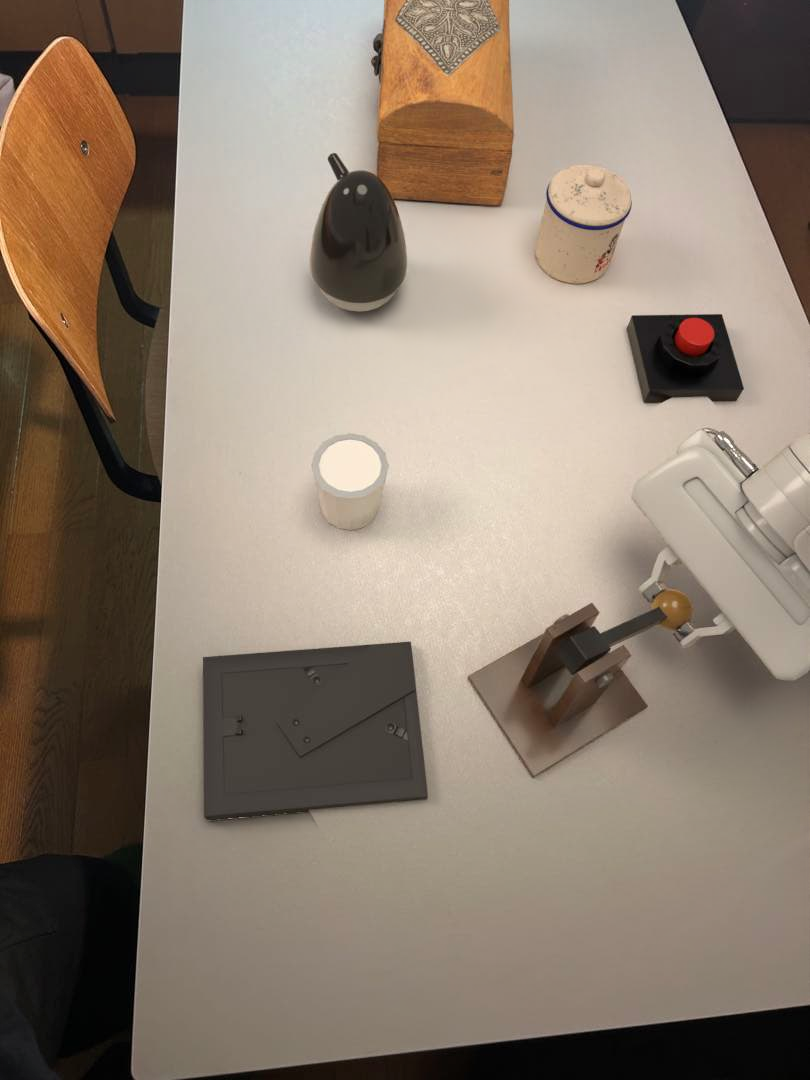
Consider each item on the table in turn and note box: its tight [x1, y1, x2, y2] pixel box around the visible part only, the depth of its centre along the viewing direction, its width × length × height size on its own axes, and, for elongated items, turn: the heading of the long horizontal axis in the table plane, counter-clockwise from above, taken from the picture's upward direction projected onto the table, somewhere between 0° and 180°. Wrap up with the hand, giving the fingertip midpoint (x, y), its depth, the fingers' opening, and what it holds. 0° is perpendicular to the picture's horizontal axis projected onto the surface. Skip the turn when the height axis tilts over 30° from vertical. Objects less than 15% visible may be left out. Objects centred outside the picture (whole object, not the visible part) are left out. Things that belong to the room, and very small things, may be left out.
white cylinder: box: [311, 433, 389, 531], centre depth 86 cm, size 7×7×7 cm
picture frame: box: [202, 641, 429, 821], centre depth 78 cm, size 13×2×18 cm
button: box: [674, 318, 714, 356], centre depth 96 cm, size 4×4×2 cm
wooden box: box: [370, 0, 515, 206], centre depth 110 cm, size 30×16×14 cm, turn 178°
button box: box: [626, 313, 745, 404], centre depth 98 cm, size 10×10×4 cm
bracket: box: [467, 602, 648, 779], centre depth 76 cm, size 12×10×13 cm
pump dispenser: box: [309, 152, 408, 312], centre depth 95 cm, size 10×10×15 cm
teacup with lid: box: [534, 164, 633, 284], centre depth 102 cm, size 12×9×12 cm
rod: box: [556, 588, 694, 675], centre depth 75 cm, size 14×3×3 cm, turn 121°
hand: (661, 618), depth 79 cm, fingers closed on rod, 3 cm apart
